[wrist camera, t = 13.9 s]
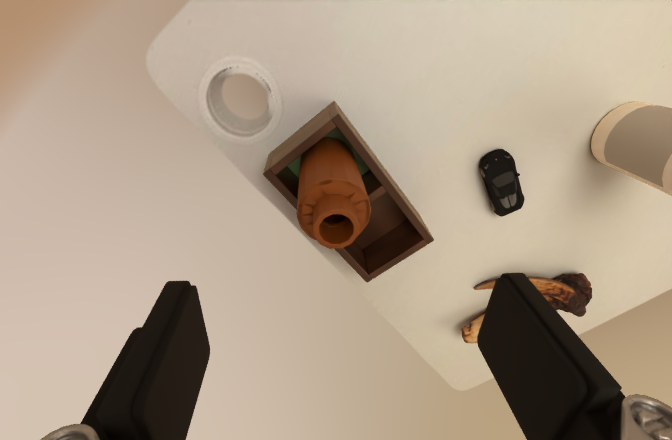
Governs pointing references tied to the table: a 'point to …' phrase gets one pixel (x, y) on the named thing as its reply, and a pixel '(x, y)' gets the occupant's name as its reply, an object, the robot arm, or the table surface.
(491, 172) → the toy car
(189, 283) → the robot arm
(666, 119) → the spray bottle
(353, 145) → the holder
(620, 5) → the table surface
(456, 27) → the table surface
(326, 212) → the bottle
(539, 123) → the table surface
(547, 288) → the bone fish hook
